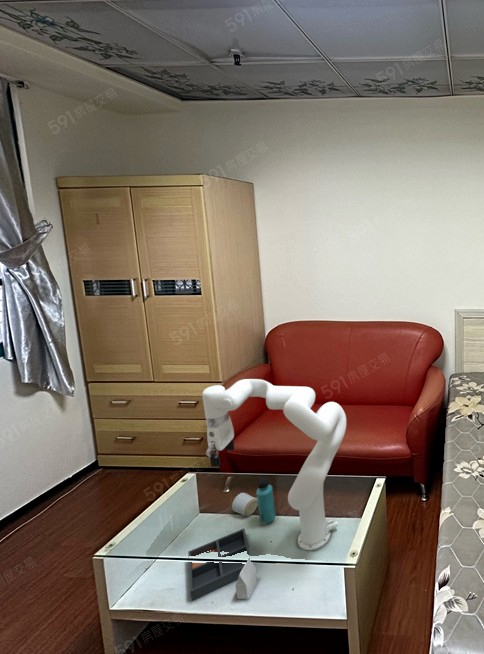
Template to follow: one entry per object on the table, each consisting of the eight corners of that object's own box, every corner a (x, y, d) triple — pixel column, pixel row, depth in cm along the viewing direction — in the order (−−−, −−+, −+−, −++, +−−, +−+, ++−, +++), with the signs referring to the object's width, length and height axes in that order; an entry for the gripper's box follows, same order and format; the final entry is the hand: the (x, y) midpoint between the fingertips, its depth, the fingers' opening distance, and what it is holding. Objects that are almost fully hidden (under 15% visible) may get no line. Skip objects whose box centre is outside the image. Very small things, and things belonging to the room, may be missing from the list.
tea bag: (257, 580, 148) (254, 558, 146) (248, 599, 141) (244, 575, 139) (247, 580, 148) (244, 557, 146) (237, 598, 141) (234, 575, 139)
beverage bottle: (279, 515, 178) (274, 475, 173) (271, 527, 171) (266, 486, 167) (265, 514, 178) (260, 474, 174) (256, 526, 172) (251, 485, 167)
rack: (245, 536, 167) (244, 528, 166) (253, 572, 151) (252, 563, 150) (189, 560, 156) (188, 551, 155) (191, 601, 141) (190, 591, 140)
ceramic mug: (246, 520, 175) (244, 505, 173) (232, 515, 178) (230, 499, 176) (265, 503, 184) (264, 489, 183) (252, 498, 187) (250, 484, 186)
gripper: (214, 431, 146) (220, 472, 150) (239, 406, 163) (244, 444, 167) (193, 431, 146) (200, 472, 150) (220, 406, 163) (225, 444, 167)
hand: (223, 457), depth 158 cm, fingers open, 9 cm apart
